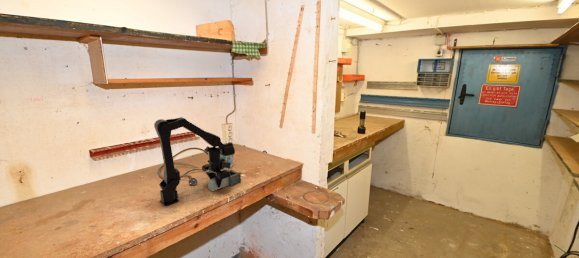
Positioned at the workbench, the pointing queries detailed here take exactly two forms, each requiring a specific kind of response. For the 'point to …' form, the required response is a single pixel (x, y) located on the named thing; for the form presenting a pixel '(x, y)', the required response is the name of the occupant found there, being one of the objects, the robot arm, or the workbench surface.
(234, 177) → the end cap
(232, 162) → the light bulb box
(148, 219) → the workbench surface
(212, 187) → the grey rectangular block
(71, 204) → the workbench surface
